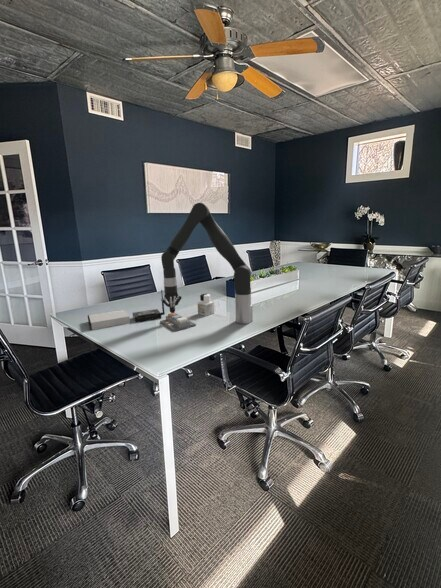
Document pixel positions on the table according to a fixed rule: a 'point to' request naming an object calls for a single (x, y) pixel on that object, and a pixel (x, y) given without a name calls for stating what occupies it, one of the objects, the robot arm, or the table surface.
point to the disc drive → (108, 319)
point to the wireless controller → (148, 314)
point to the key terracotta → (172, 314)
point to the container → (205, 305)
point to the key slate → (176, 317)
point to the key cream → (181, 320)
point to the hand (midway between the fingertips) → (172, 312)
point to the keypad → (176, 324)
